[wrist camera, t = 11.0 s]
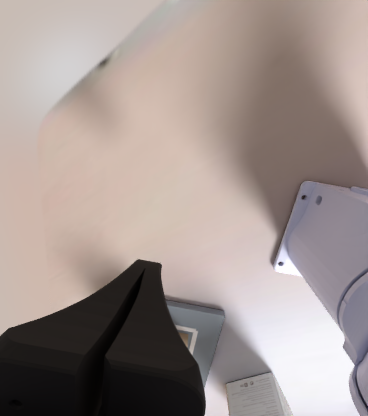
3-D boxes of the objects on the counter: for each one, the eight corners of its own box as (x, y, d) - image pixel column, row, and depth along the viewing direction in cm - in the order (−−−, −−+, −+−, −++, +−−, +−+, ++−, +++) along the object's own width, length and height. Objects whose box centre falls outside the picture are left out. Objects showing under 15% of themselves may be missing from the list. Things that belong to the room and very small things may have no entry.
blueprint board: (112, 289, 25) (109, 295, 24) (224, 310, 25) (224, 316, 24) (106, 369, 29) (103, 376, 29) (202, 387, 29) (202, 395, 28)
